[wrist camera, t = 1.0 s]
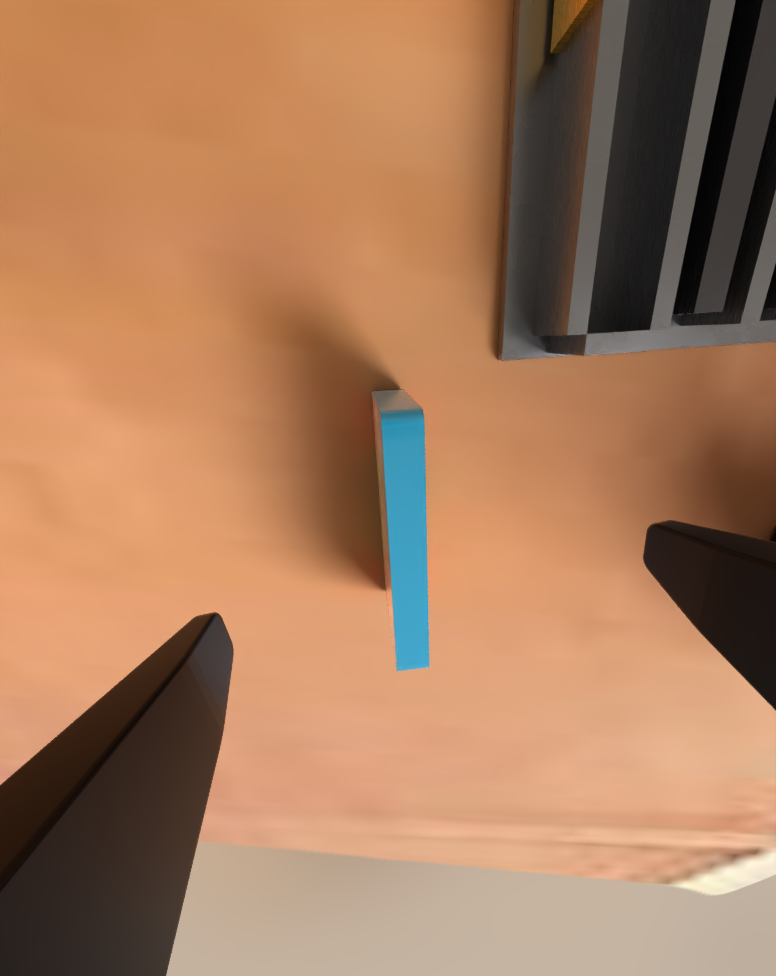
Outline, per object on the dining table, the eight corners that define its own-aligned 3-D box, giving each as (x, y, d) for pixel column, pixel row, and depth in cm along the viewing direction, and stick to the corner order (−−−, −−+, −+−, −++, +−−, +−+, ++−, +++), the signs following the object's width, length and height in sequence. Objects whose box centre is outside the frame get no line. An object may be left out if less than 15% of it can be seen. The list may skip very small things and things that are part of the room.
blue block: (409, 589, 23) (429, 672, 17) (385, 591, 23) (397, 676, 17) (401, 387, 19) (423, 409, 13) (371, 389, 18) (380, 413, 13)
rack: (784, 339, 19) (875, 340, 16) (497, 359, 18) (530, 364, 15) (965, -243, 13) (1188, -453, 9) (526, -257, 12) (596, -496, 8)
